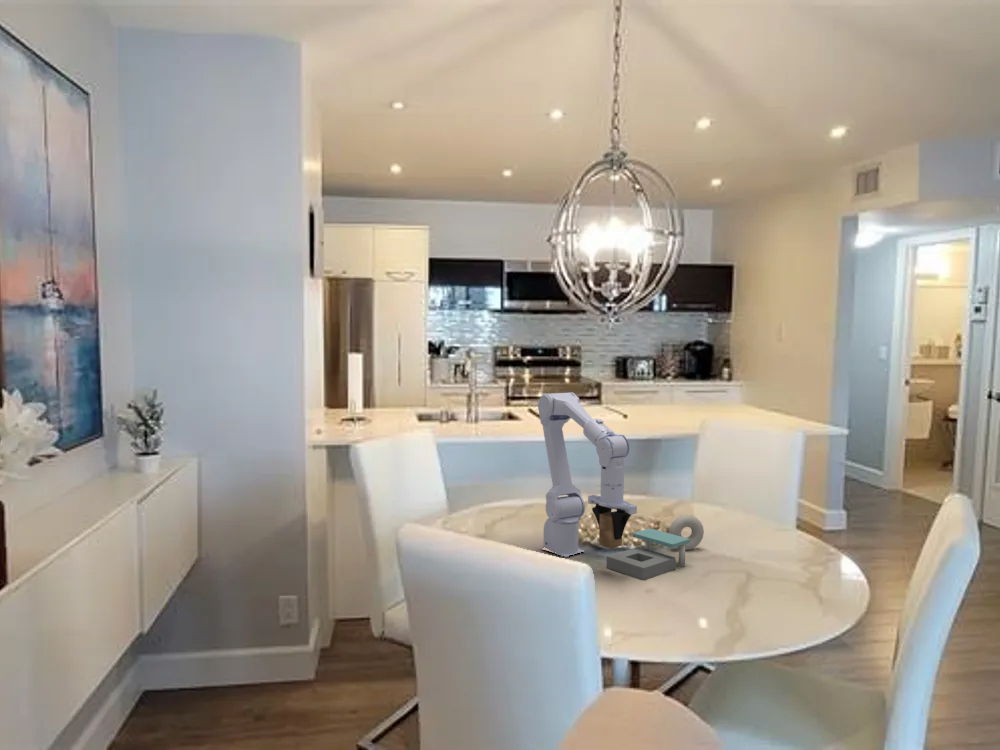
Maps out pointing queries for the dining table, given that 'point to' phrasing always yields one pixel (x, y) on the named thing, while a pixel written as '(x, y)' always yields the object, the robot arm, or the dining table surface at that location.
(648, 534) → the teal mini table
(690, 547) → the donut
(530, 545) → the dining table surface
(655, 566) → the socket block
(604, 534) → the peg
